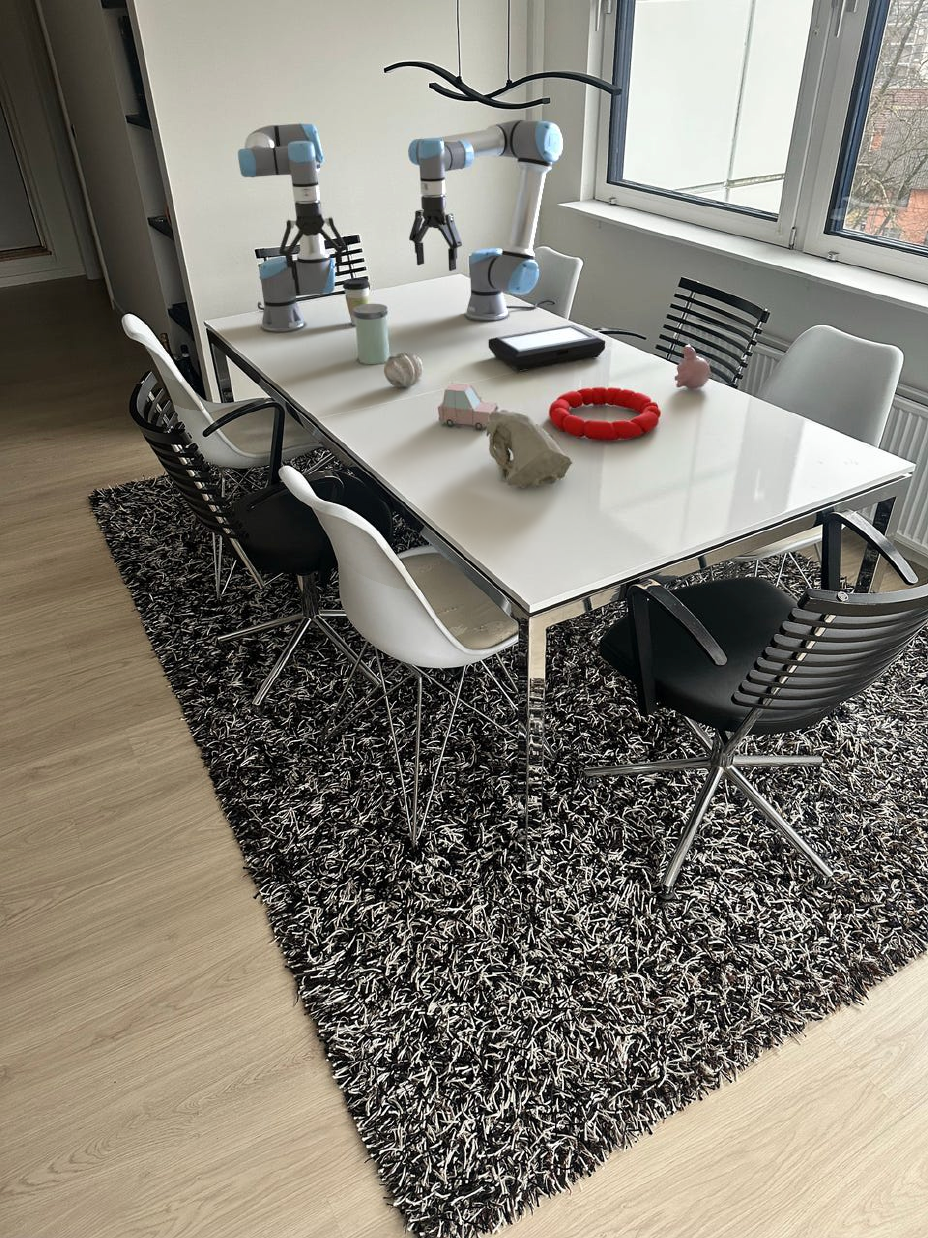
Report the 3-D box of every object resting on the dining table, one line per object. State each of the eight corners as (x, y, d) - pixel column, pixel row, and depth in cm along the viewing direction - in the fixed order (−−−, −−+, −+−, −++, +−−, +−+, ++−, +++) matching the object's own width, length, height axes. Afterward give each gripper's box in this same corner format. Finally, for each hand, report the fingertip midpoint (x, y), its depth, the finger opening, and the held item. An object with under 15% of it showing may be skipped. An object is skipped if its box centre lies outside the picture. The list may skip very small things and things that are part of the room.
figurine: (665, 387, 264) (669, 347, 257) (693, 380, 268) (698, 340, 261) (686, 396, 257) (690, 355, 250) (714, 388, 262) (720, 348, 255)
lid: (374, 307, 291) (374, 301, 290) (394, 314, 284) (394, 308, 283) (346, 314, 286) (346, 308, 285) (366, 321, 279) (365, 315, 278)
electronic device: (516, 354, 273) (488, 336, 289) (516, 374, 277) (488, 355, 292) (605, 338, 284) (574, 322, 299) (604, 357, 287) (573, 341, 302)
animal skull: (496, 517, 219) (521, 479, 201) (463, 429, 225) (484, 384, 207) (557, 503, 225) (586, 465, 206) (523, 417, 231) (549, 373, 212)
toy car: (488, 432, 240) (488, 396, 234) (436, 426, 244) (434, 390, 239) (499, 419, 247) (499, 384, 241) (448, 413, 252) (447, 379, 246)
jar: (378, 352, 299) (373, 303, 290) (395, 359, 293) (392, 309, 284) (353, 359, 294) (348, 309, 285) (370, 366, 288) (366, 316, 278)
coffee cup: (372, 326, 323) (368, 283, 314) (345, 327, 323) (340, 284, 315) (374, 318, 331) (371, 276, 322) (348, 319, 331) (344, 277, 323)
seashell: (376, 385, 272) (373, 353, 266) (419, 376, 278) (418, 344, 272) (390, 395, 265) (387, 362, 259) (434, 385, 270) (433, 353, 265)
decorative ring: (589, 435, 224) (684, 402, 234) (527, 398, 247) (617, 369, 256) (589, 461, 229) (683, 427, 238) (529, 422, 251) (617, 393, 260)
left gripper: (264, 205, 256) (275, 282, 268) (350, 200, 259) (357, 276, 271) (264, 201, 262) (275, 276, 274) (349, 196, 265) (356, 270, 277)
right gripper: (395, 193, 279) (400, 264, 291) (456, 200, 266) (458, 274, 278) (411, 189, 284) (415, 259, 296) (472, 196, 270) (473, 269, 282)
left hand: (316, 276), depth 273 cm, fingers open, 13 cm apart
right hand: (436, 267), depth 287 cm, fingers open, 13 cm apart
